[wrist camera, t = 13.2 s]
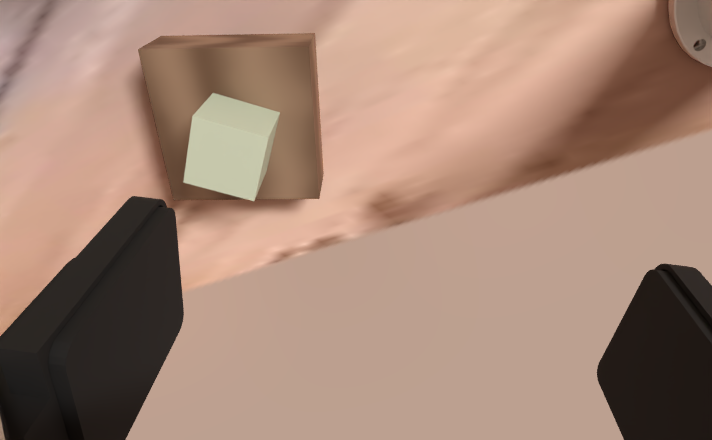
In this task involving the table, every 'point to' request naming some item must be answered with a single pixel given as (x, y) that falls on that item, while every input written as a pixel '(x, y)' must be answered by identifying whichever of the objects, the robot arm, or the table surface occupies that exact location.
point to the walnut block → (244, 83)
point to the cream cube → (230, 146)
